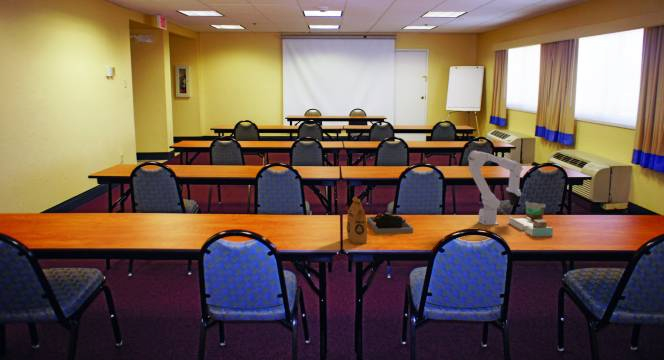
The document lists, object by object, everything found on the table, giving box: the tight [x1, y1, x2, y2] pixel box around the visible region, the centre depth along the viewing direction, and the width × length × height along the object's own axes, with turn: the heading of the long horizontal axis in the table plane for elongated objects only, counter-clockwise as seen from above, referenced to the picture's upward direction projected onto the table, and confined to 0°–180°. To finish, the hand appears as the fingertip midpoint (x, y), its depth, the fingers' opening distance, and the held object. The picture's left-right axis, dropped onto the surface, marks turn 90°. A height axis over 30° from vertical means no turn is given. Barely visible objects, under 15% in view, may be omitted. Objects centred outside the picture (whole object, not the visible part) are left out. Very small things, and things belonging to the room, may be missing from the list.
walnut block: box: [532, 219, 548, 228], centre depth 275 cm, size 5×5×5 cm
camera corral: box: [366, 215, 414, 235], centre depth 289 cm, size 20×26×2 cm
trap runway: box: [508, 216, 554, 237], centre depth 285 cm, size 11×27×4 cm, turn 8°
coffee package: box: [346, 196, 368, 245], centre depth 260 cm, size 10×12×22 cm
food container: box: [524, 200, 547, 221], centre depth 306 cm, size 12×6×10 cm, turn 43°
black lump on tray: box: [373, 211, 407, 229], centre depth 283 cm, size 18×12×10 cm
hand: (512, 205), depth 299 cm, fingers closed
